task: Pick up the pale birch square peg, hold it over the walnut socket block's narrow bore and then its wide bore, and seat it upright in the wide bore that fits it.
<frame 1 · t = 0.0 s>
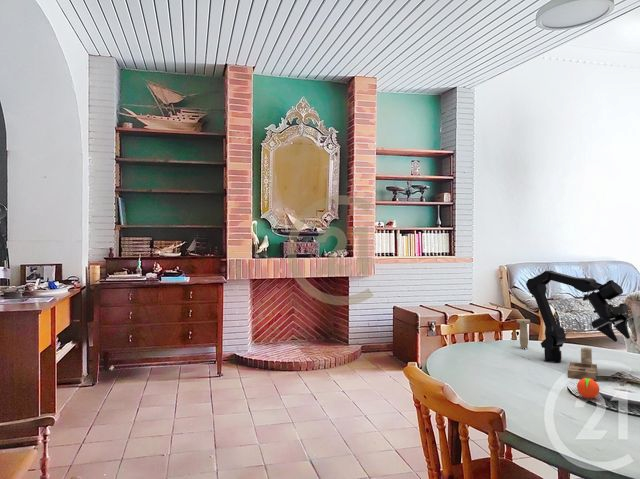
hand: (622, 339, 190), 15 cm above the table, tool tilted 35°, fingers open, 9 cm apart
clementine: (588, 398, 165), on the table
handle: (524, 349, 242), on the table
socket block: (582, 374, 194), on the table
peg: (586, 366, 206), on the table
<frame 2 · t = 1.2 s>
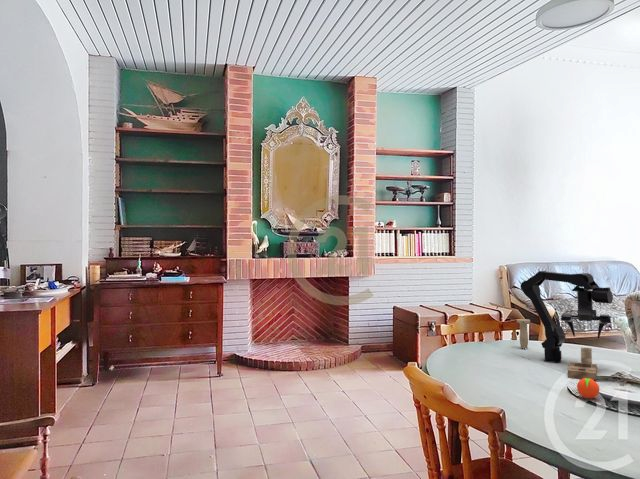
hand: (586, 337, 205), 13 cm above the table, tool pointing down, fingers open, 9 cm apart
nothing on the table moved.
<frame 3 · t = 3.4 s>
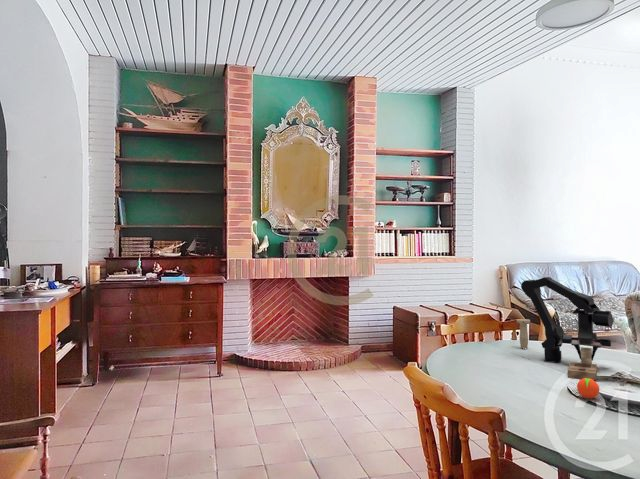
hand: (586, 359, 206), 3 cm above the table, tool pointing down, fingers closed on peg, 4 cm apart
peg: (586, 366, 206), on the table, touching gripper
everything else where it was.
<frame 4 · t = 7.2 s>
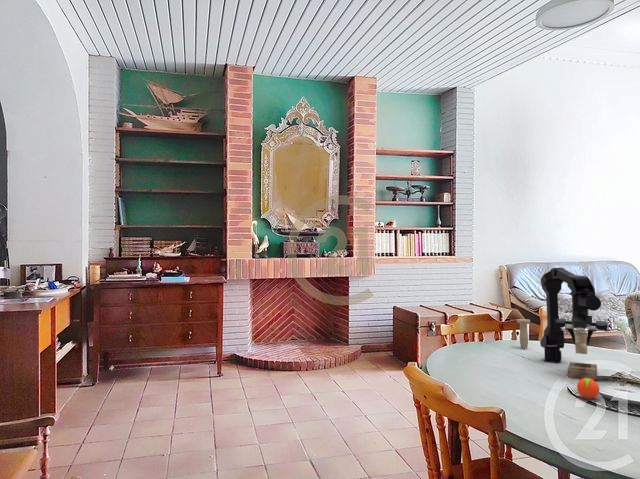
hand: (581, 345, 191), 13 cm above the table, tool pointing down, fingers closed on peg, 4 cm apart
peg: (581, 352, 191), point 10 cm above the table, touching gripper
everything else where it was.
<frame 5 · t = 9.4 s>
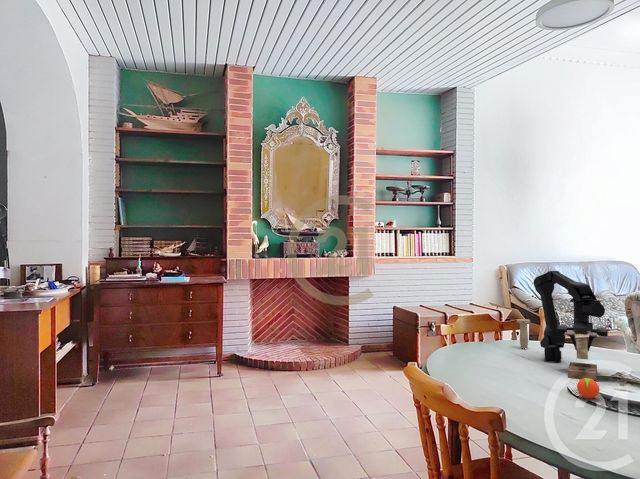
hand: (582, 350, 197), 9 cm above the table, tool pointing down, fingers closed on peg, 4 cm apart
peg: (582, 357, 197), point 6 cm above the table, touching gripper
everything else where it was.
when the fingers open (4 cm above the table, at t = 11.2 s): peg drops 1 cm, resting in socket block.
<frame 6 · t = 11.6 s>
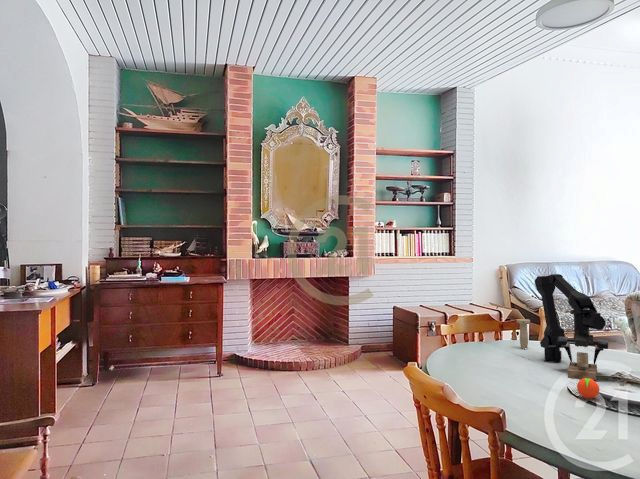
hand: (582, 362, 197), 4 cm above the table, tool pointing down, fingers open, 8 cm apart
peg: (582, 372, 197), resting in socket block
everything else where it was.
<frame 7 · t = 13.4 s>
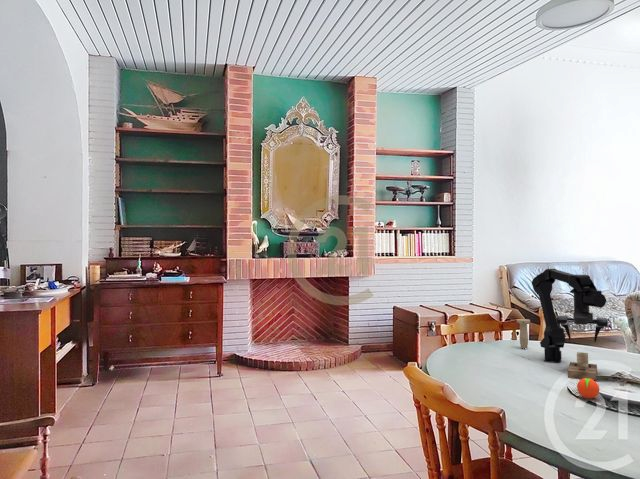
hand: (582, 341, 199), 13 cm above the table, tool pointing down, fingers open, 9 cm apart
nothing on the table moved.
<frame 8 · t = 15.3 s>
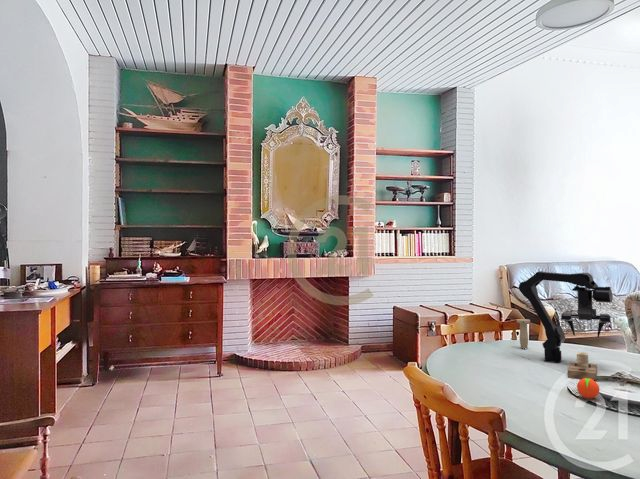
hand: (586, 336, 207), 13 cm above the table, tool pointing down, fingers open, 9 cm apart
nothing on the table moved.
at the end: peg 0.0 cm from the target spot on the socket block, point 0.0 cm above the socket block's base; peg tilted 0°; the gripper is holding nothing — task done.
